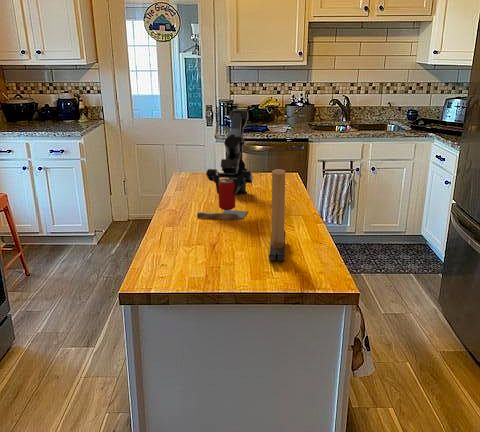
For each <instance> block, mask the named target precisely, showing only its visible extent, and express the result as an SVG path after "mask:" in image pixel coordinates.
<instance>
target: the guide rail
mask: <svg viewBox="0 0 480 432" xmlns="http://www.w3.org/2000/svg"><path fill="white" fill-rule="evenodd" d="M196 217H197V218H199V219H201V218H202V219H213V220H227V221H236V220H237V219H236V214H224V213H223V212H221V213H220V212H208V211H207V212H205V211H197V214H196Z"/></svg>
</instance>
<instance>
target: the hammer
mask: <svg viewBox="0 0 480 432" xmlns="http://www.w3.org/2000/svg"><path fill="white" fill-rule="evenodd" d="M285 205H286V170H284V169H282V168H281V169H280V168H276V169H272V171H271V232H270V245H269V246H270V247H269V254H268V260H269V261H270V262H271V261H275V262H276V260H277V261H278V262H285V250H286V229H285V211H286V209H285V207H286V206H285Z"/></svg>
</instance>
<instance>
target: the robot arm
mask: <svg viewBox="0 0 480 432" xmlns="http://www.w3.org/2000/svg"><path fill="white" fill-rule="evenodd" d="M229 120H231V121H230V122H231V127H230V130H229V131H228V132H227V135H226V137H225V139H224V142H223V143H224V144H223V145H224V148H225V152H226V158H222V159H221V161H220V168H221V171H222V172H219V171H218V169H217V168H208V169H207V170H206V177H207V179H208V180H209V181H211V182H213V183H215V187H216V188H215V189H216V194H218V195H219V186H218V184H219V182H220V180H221V179H232V180H233V181H234V183H235V189H234V195H235V196H236V195H242V194H247V193H248V191H246V189H247V187H246V186H247V184H252V183H253V180H254V177H253V173H252V171H251V170H248V169H247V167H246V163H245V162H244V160H243V158H244V157H243V154H244V146H245V145H246V140H245V139H244V129H245V128H246V126H247V124H248V120H249V112H248V111H247V110H246V109H232V110H230V111H229Z"/></svg>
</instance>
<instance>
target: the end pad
mask: <svg viewBox="0 0 480 432" xmlns="http://www.w3.org/2000/svg"><path fill="white" fill-rule="evenodd" d="M248 212H249V211H247V210H234V209H232V210H223V212H222V213H224V214H236V220H237V219H238V220H244V218H245V217H246V216H247V214H248Z"/></svg>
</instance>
